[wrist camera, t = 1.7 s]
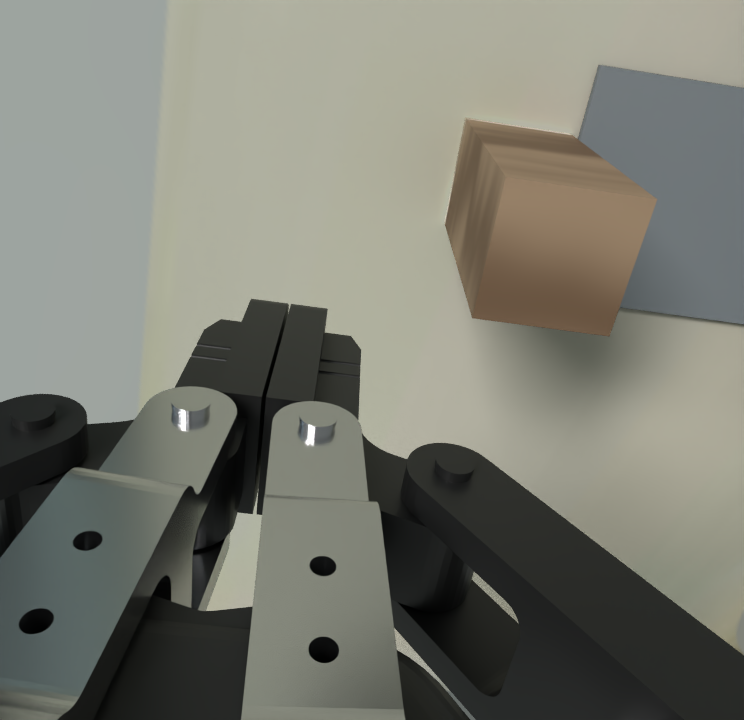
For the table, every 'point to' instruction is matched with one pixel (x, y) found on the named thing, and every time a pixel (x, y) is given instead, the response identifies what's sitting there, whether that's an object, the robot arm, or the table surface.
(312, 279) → the table surface
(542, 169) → the walnut block
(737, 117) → the rubber mat
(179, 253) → the table surface
